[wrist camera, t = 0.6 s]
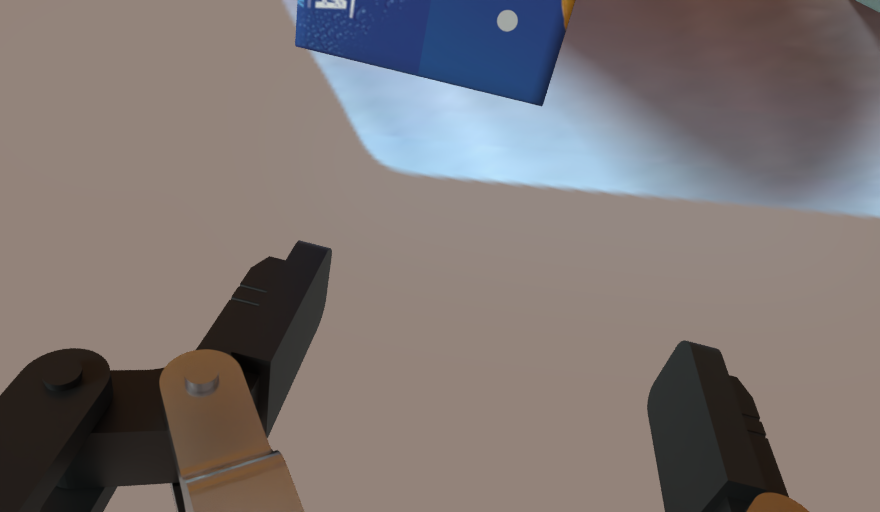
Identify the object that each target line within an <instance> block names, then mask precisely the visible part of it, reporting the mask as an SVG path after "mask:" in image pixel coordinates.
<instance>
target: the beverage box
mask: <svg viewBox="0 0 880 512" xmlns="http://www.w3.org/2000/svg"><path fill="white" fill-rule="evenodd" d="M574 3H575V0H298V4H297V22H296V39H295V45H296V46H297V47H301V48H305V49H309V50H313V51H317V52H321V53H325V54H329V55H334V56H338V57H342V58H346V59H350V60H354V61H358V62H362V63H366V64H370V65H375V66H379V67H383V68H387V69H391V70H395V71H399V72H403V73H407V74H412V75H416V76H420V77H424V78H428V79H432V80H436V81H440V82H444V83H448V84H453V85H457V86H461V87H465V88H469V89H473V90H477V91H481V92H485V93H490V94H494V95H498V96H502V97H506V98H510V99H514V100H518V101H522V102H526V103H531V104H535V105H539V106H542V105H543V103H544V99H545V96H546V93H547V90H548V86H549V83H550V80H551V77H552V74H553V70H554V67H555V64H556V61H557V58H558V54H559V51H560V48H561V45H562V41H563V38H564V35H565V32H566V29H567V25H568V22H569V19H570V16H571V12H572V9H573V6H574Z"/></svg>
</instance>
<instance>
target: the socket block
mask: <svg viewBox="0 0 880 512" xmlns="http://www.w3.org/2000/svg"><path fill="white" fill-rule="evenodd" d="M856 1H858V2H860V3H862V4H864V5H866V6H868V7H870V8H872V9H874V10H876V11H877V12H879V13H880V0H856Z"/></svg>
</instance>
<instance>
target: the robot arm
mask: <svg viewBox="0 0 880 512" xmlns="http://www.w3.org/2000/svg"><path fill="white" fill-rule="evenodd" d="M331 256H332V250H331V248H327V247H323V246H319V245H315V244H311V243H307V242H303V241H298V242H297V243H296V244H295V246H294V248H293V249H292V251H291V253H290V254H289V256H288V258H287V259H286V260H282V259H278V258H274V257H270V256H269V257H268V258H266V259H265V260H263V261H261V262H260V263H258V264H256V265H255V266H253V267H251V269H250V270H249V272H248V273H247V274H246V276H245V277H244V279H243V281H242V282H241V283H240V287H238V288H237V289H236V291H235V292H234V294H233V295H232V298H231V300H229V302H228V303H227V304H226V306H225V307H224V309H223V311H222V312H221V313H220V315H219V316H218V318H217V319H216V321H215V323H214V324H213V325H212V327H211V328H210V330H209V331H208V333H207V335H206V336H205V337H204V339H203V340H202V342H201V343H200V345H199V346H198V347H197V349H196V350H195V351H190V352H187V353H184V354H182V355H180V356H178V357H176V358H175V359H173V360H172V361H171V362H170V363H168V365H167V366H166V367H165V368H161V369H154V370H118V371H117V370H113V371H112V370H111V371H110V368H109V365H108V363H107V361H106V360H105V359H104V358H103V357H102V356H100V355H99V354H97V353H95V352H93V351H90V350H85V349H76V348H73V349H72V348H71V349H62V350H57V351H54V352H51V353H47V354H45V355H43V356H41V357H39V358H37V359H36V360H33V361H32V362H31V363H29V364H28V365H27V366H26V367H25V368H24V369H23V370H22V371H21V372H20V374H18V376H17V377H16V378H15V379H14V380H13V381H12V383H11V384H10V385H9V386H8V387H7V388H6V390H5V391H4V392H3V393H2V394H1V395H0V512H103V511H104V509H105V507H106V506H107V504H108V502H109V500H110V498H111V497H112V495H113V493H114V492H115V490H116V488H117V486H131V485H147V484H163V483H170V486H171V490H172V495H173V499H174V504H175V508H176V512H304V509H303V507H302V504H301V501H300V499H299V496H298V493H297V491H296V488H295V486H294V483H293V481H292V478H291V475H290V473H289V470H288V467H287V465H286V463H285V460H284V458H283V456H282V454H281V453H280V452H279V451H272V449H271V447H270V445H269V443H268V440H267V438H268V436H269V434H270V432H271V429H272V427H273V425H274V423H275V421H276V418H277V416H278V414H279V412H280V410H281V407H282V405H283V403H284V401H285V399H286V396H287V394H288V392H289V390H290V388H291V385H292V383H293V381H294V379H295V377H296V374H297V372H298V370H299V368H300V366H301V363H302V361H303V359H304V357H305V355H306V352H307V350H308V348H309V345H310V344H311V341H312V339H313V337H314V335H315V333H316V331H317V328H318V326H319V323H320V321H321V318H322V314H323V311H324V307H325V302H326V295H327V287H328V279H329V272H330V264H331ZM647 410H648V417H649V423H650V428H651V434H652V439H653V445H654V451H655V457H656V462H657V468H658V474H659V480H660V485H661V491H662V496H663V502H664V508H665V512H809V511H808V510H807V509H805V508H804V507H803V506H802V505H800V504H799V503H797V502H796V501H794V500H792V499H791V498H789V496H788V493H787V490H786V488H785V485H784V482H783V480H782V477H781V474H780V471H779V469H778V466H777V463H776V460H775V458H774V455H773V452H772V449H771V447H770V444H769V441H768V439H767V438H765V436H766V433H765V431H764V427H763V425H762V422H760V421H759V419H760V417H759V414H758V411H757V408H756V406H755V403H754V400H753V398H752V396H751V395H750V394H749V392H748V391H747V390H746V388H745V387H744V386H743V385H742V383H741V382H740V381H739V379H738V378H737V377H734V376H729V374H728V371H727V368H726V365H725V363H724V360H723V357H722V354H721V352H720V351H719V350H718V349H716V348H712V347H708V346H705V345H701V344H697V343H693V342H689V341H681V342H680V343H679V344H678V345H677V347H676V348H675V350H674V352H673V353H672V355H671V356H670V358H669V360H668V361H667V363H666V364H665V366H664V367H663V369H662V371H661V372H660V374H659V376H658V377H657V379H656V380H655V382H654V384H653V386H652V388H651V390H650V393H649V397H648V405H647Z"/></svg>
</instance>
